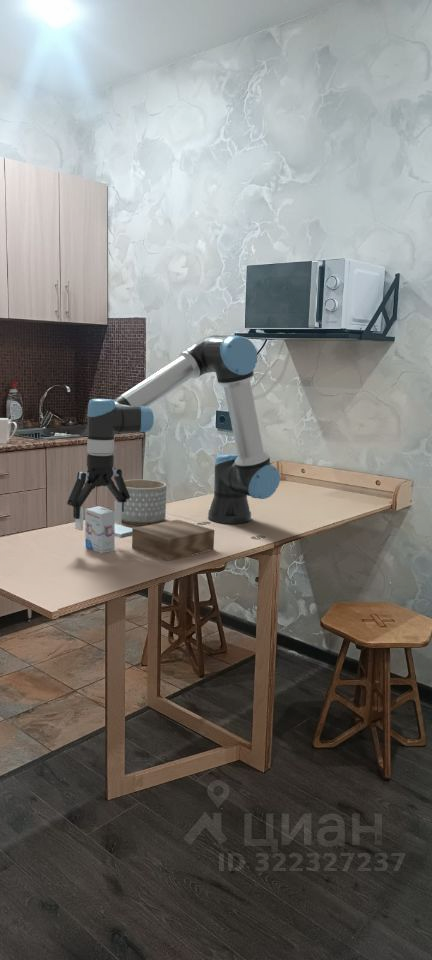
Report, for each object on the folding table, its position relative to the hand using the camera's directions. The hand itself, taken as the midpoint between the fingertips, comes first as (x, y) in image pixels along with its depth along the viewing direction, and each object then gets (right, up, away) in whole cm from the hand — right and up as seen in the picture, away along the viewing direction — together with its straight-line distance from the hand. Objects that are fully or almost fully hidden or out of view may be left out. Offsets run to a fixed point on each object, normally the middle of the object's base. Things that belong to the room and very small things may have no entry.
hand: (98, 526), depth 203 cm
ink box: (0, -7, +1) cm, 7 cm away
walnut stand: (+21, -7, +4) cm, 23 cm away
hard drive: (+2, -4, +22) cm, 22 cm away
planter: (+8, -1, +38) cm, 39 cm away
